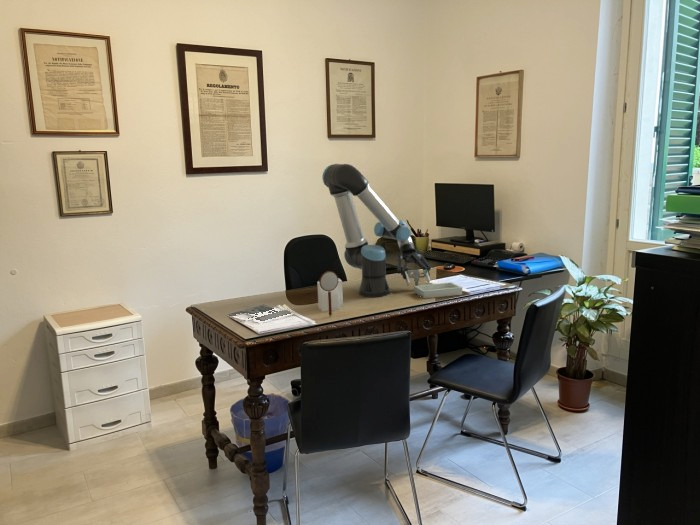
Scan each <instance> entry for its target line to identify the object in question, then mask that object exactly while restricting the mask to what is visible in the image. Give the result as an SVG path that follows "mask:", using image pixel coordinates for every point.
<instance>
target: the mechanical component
mask: <svg viewBox="0 0 700 525" xmlns="http://www.w3.org/2000/svg"><path fill="white" fill-rule="evenodd" d="M405 272H407V275H408V278H409V279H413V281H414V286H419V282H420V279H424V278H426V277H425V276H426V273H427V270H423V272H421V271H420V269H407V270H405ZM411 273H412V274H411Z"/></svg>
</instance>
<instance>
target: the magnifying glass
mask: <svg viewBox="0 0 700 525" xmlns="http://www.w3.org/2000/svg"><path fill="white" fill-rule="evenodd" d="M338 278H339V276H338V274H336V273H335V272H334V271H333V270H327V271H325V272H324V273H322V274H321V276H320V277H319V280H318V281H319V283H320V286H321V288H322V289H323V290H325V291H329V292H328V303H329V311H328V315H329V318H331V317H332V315H333V313H332V312H333V311H332V308H331V292H330V291H332V290H334V289H335V288H336V287H337V285H338Z"/></svg>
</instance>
